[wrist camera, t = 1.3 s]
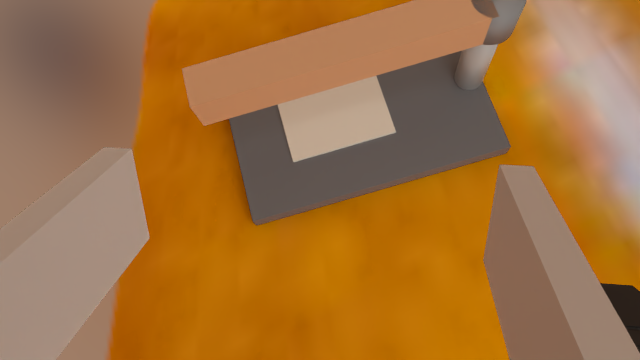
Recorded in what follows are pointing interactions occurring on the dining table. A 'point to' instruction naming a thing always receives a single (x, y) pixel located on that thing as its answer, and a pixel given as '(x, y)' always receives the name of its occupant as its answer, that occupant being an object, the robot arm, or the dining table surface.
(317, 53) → the swing bar
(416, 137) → the base plate with post
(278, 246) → the dining table surface
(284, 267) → the dining table surface
